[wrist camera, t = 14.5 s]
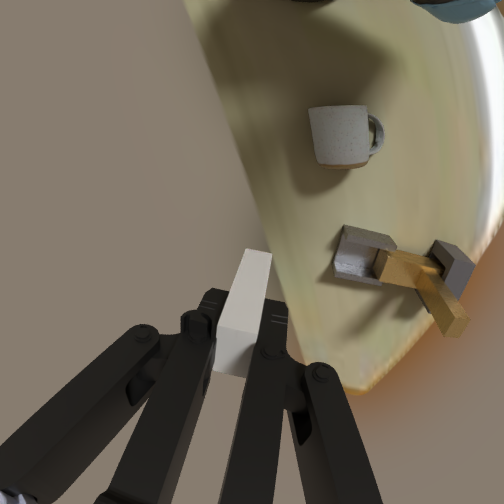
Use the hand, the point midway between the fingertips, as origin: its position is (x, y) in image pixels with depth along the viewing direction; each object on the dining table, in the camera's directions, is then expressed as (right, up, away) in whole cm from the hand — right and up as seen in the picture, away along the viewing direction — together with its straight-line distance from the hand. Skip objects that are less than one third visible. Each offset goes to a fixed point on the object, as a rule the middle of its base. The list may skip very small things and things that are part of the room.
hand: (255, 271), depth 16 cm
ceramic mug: (+13, +18, +19) cm, 29 cm away
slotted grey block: (+32, -2, +25) cm, 41 cm away
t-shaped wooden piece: (+26, -1, +24) cm, 36 cm away
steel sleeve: (+17, +1, +26) cm, 31 cm away
